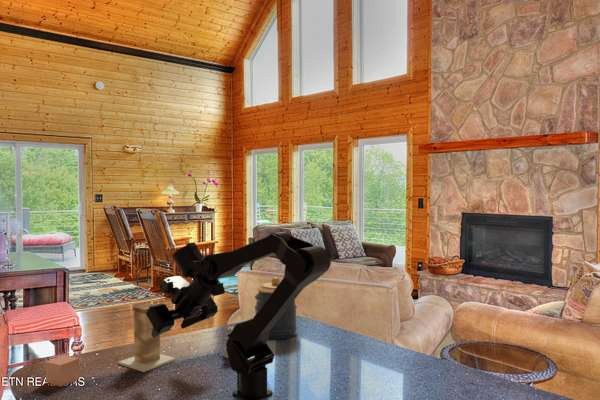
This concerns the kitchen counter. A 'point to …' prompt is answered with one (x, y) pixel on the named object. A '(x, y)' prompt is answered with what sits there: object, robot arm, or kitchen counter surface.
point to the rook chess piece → (228, 331)
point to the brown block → (144, 337)
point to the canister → (287, 321)
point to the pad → (146, 367)
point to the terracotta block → (62, 370)
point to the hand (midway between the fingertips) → (167, 331)
